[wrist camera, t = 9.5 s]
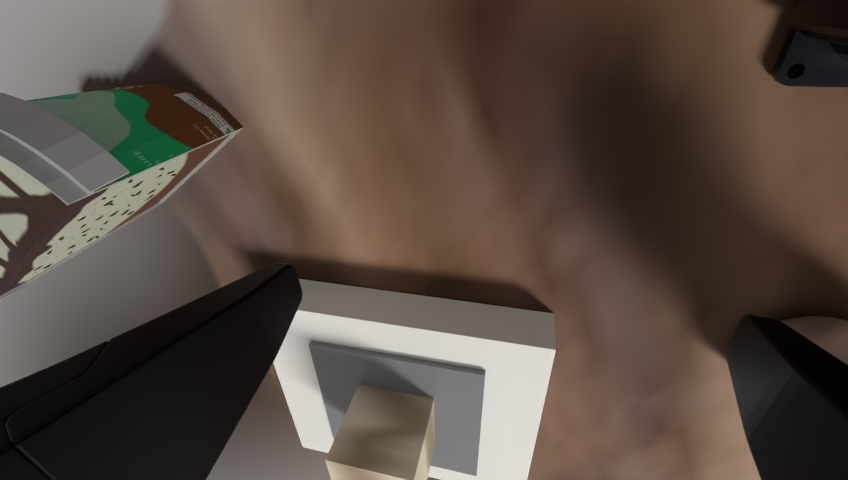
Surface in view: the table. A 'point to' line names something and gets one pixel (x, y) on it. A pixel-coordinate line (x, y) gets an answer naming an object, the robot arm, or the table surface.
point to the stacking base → (422, 371)
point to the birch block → (384, 437)
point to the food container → (94, 167)
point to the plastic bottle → (824, 333)
